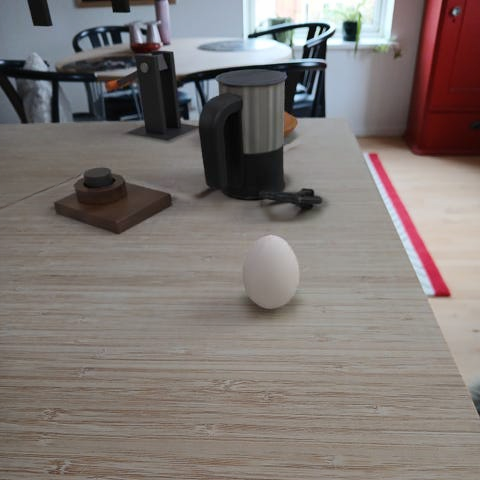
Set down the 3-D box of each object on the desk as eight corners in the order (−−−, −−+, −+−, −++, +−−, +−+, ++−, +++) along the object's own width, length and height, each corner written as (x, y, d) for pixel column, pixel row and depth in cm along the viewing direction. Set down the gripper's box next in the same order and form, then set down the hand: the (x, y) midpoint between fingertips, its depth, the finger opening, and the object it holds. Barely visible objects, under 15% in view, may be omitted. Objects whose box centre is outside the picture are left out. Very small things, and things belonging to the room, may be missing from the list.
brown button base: (56, 213, 69) (49, 189, 67) (110, 188, 75) (106, 165, 73) (119, 234, 63) (113, 208, 61) (172, 205, 70) (169, 180, 68)
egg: (309, 307, 49) (313, 238, 45) (266, 328, 47) (265, 258, 42) (275, 284, 53) (275, 218, 48) (233, 302, 50) (229, 235, 46)
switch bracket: (128, 138, 95) (114, 55, 86) (160, 125, 100) (150, 47, 92) (168, 147, 90) (158, 59, 82) (200, 133, 96) (193, 50, 87)
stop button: (80, 186, 68) (77, 174, 67) (100, 178, 70) (98, 165, 69) (99, 192, 66) (96, 179, 65) (119, 182, 69) (116, 170, 68)
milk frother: (235, 173, 78) (230, 66, 70) (338, 183, 74) (346, 70, 65) (196, 211, 68) (184, 91, 59) (313, 226, 63) (319, 98, 54)
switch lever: (108, 94, 95) (102, 81, 94) (127, 88, 98) (122, 75, 97) (153, 72, 86) (147, 57, 85) (173, 66, 89) (167, 52, 88)
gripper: (-49, -243, 45) (23, 33, 57) (145, -200, 61) (168, 8, 74) (-94, -226, 48) (-17, 31, 61) (101, -189, 65) (130, 7, 77)
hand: (85, 19), depth 67 cm, fingers open, 13 cm apart
